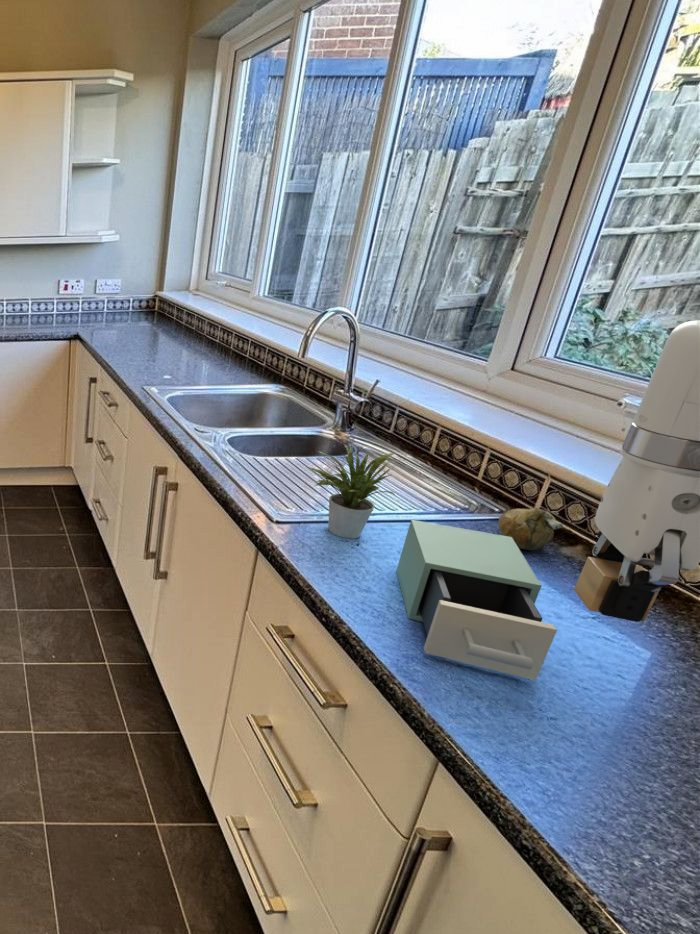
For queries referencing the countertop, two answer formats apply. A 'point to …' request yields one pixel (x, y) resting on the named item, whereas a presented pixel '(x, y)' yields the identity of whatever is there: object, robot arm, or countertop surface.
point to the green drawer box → (459, 560)
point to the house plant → (352, 494)
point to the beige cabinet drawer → (484, 624)
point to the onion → (528, 527)
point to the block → (600, 582)
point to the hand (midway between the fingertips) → (608, 602)
